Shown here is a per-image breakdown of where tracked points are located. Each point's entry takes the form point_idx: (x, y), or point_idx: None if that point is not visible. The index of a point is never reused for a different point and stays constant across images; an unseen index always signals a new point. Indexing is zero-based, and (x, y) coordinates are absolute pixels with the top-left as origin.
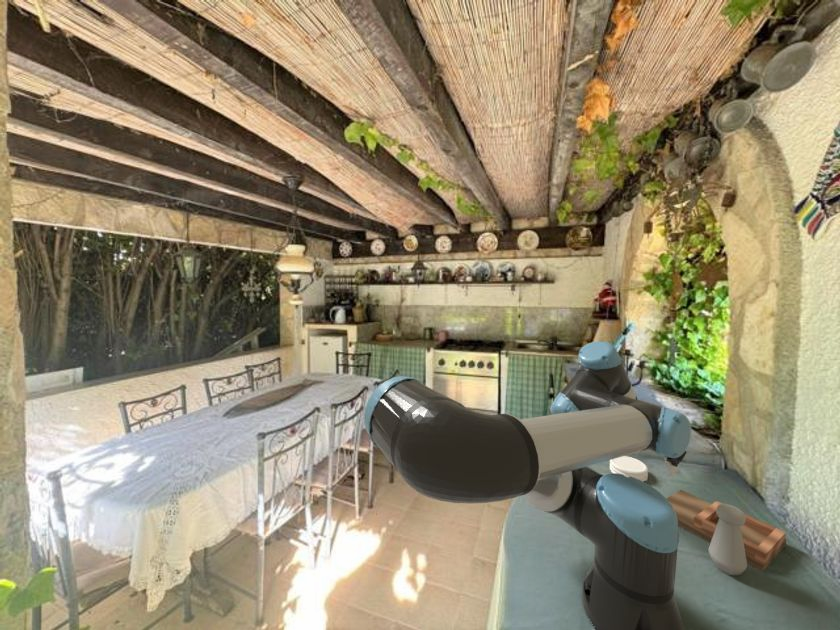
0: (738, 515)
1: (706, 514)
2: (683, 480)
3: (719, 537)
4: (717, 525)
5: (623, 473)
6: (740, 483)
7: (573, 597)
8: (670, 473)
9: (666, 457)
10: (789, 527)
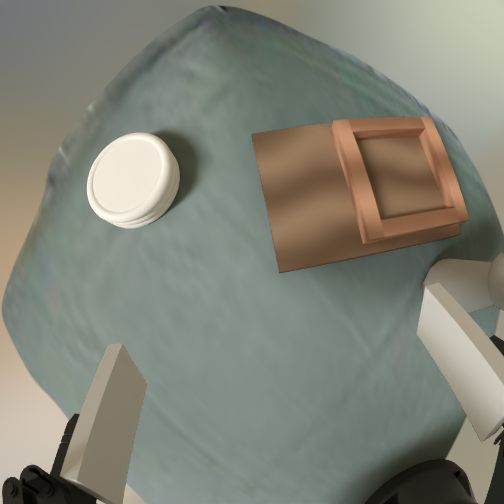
0: None
1: (369, 198)
2: (216, 89)
3: (470, 309)
4: (474, 299)
5: (142, 217)
6: (266, 22)
7: None
8: (423, 339)
9: (494, 433)
10: (380, 73)
